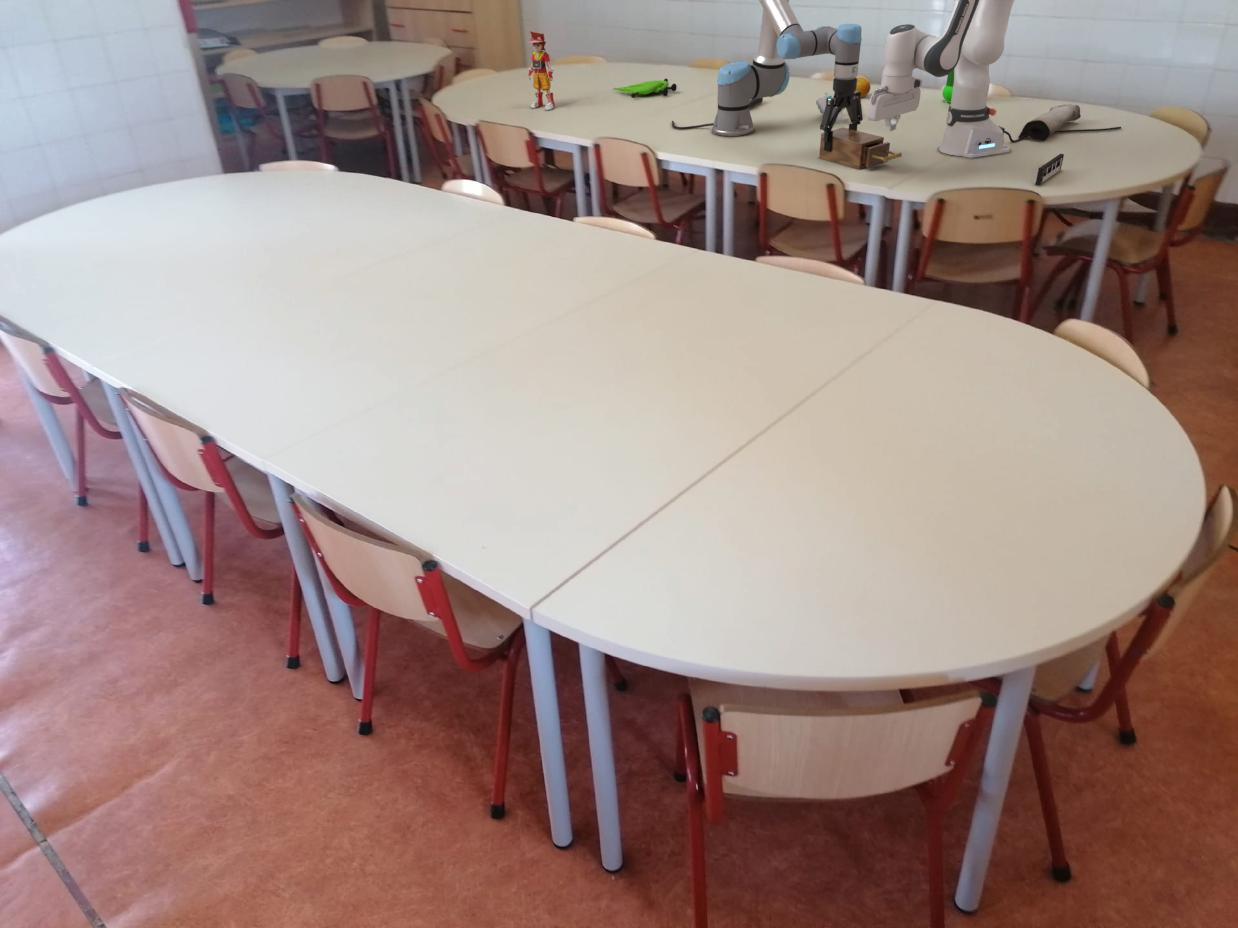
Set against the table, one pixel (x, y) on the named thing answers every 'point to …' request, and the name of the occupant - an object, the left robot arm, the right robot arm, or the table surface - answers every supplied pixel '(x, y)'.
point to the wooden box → (848, 147)
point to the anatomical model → (822, 104)
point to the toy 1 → (541, 71)
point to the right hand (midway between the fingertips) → (890, 130)
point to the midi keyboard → (1049, 169)
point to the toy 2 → (648, 88)
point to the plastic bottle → (949, 87)
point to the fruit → (863, 86)
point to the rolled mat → (1050, 122)
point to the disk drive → (754, 102)
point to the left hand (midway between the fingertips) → (839, 147)
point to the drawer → (877, 154)
